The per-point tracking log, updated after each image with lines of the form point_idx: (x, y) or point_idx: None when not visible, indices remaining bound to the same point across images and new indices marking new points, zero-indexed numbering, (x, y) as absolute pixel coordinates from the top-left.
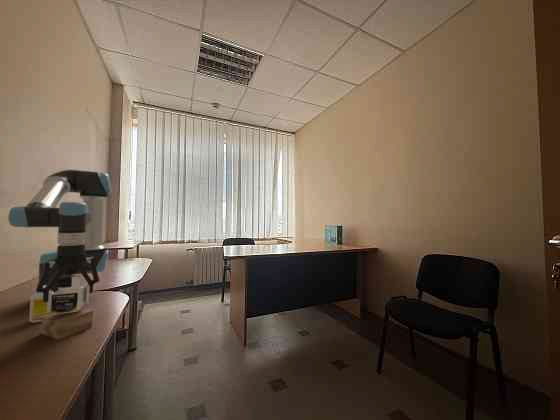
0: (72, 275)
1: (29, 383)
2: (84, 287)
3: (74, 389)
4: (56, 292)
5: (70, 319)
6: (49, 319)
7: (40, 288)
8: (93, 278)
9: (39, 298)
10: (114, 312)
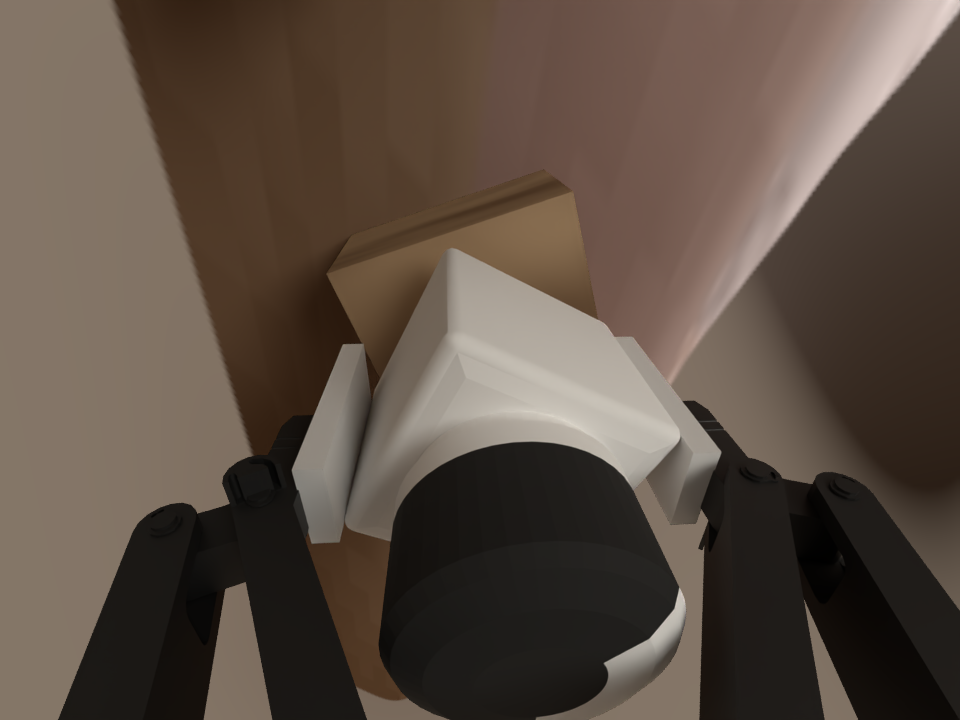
0: (581, 666)
1: (347, 608)
2: (657, 462)
3: None
4: (381, 527)
5: None
6: (373, 365)
7: (200, 612)
8: (831, 515)
9: None
10: (778, 193)
